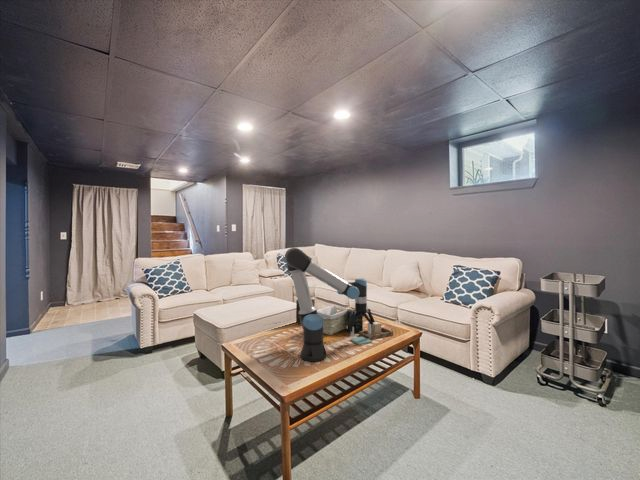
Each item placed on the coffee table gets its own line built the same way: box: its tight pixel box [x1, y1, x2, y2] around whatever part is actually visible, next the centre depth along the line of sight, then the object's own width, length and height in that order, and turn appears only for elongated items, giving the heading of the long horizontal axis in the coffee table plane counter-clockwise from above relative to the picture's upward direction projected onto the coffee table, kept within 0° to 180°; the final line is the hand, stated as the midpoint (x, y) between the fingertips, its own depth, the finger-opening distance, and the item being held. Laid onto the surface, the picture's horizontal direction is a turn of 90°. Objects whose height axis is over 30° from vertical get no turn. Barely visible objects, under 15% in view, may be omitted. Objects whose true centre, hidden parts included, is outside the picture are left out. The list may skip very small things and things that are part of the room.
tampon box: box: [347, 308, 364, 333], centre depth 213 cm, size 11×9×15 cm
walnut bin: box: [358, 327, 394, 341], centre depth 203 cm, size 21×11×2 cm, turn 117°
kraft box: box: [371, 321, 382, 335], centre depth 203 cm, size 5×5×8 cm
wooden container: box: [295, 298, 316, 325], centre depth 234 cm, size 15×15×22 cm
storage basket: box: [316, 304, 348, 336], centre depth 215 cm, size 24×16×15 cm
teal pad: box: [350, 336, 373, 346], centre depth 191 cm, size 10×10×1 cm
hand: (361, 334), depth 191 cm, fingers open, 13 cm apart
